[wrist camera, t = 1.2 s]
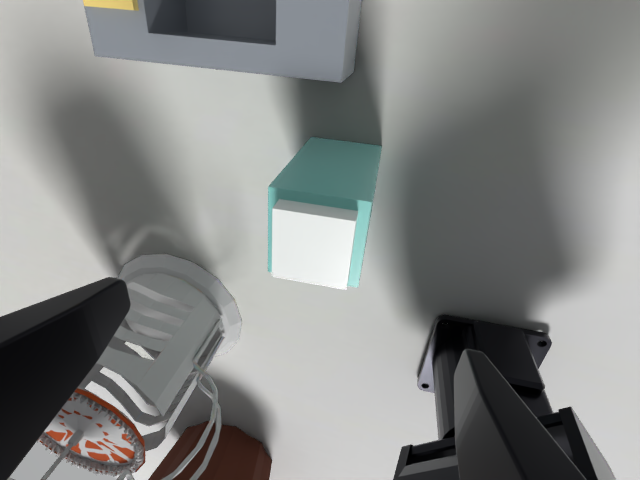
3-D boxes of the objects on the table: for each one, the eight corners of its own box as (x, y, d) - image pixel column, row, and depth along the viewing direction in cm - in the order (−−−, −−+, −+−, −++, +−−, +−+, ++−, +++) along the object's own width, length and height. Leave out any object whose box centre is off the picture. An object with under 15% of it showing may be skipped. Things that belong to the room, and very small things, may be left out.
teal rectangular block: (371, 211, 20) (355, 300, 13) (307, 201, 21) (261, 283, 14) (382, 145, 18) (370, 212, 12) (311, 136, 19) (260, 195, 12)
